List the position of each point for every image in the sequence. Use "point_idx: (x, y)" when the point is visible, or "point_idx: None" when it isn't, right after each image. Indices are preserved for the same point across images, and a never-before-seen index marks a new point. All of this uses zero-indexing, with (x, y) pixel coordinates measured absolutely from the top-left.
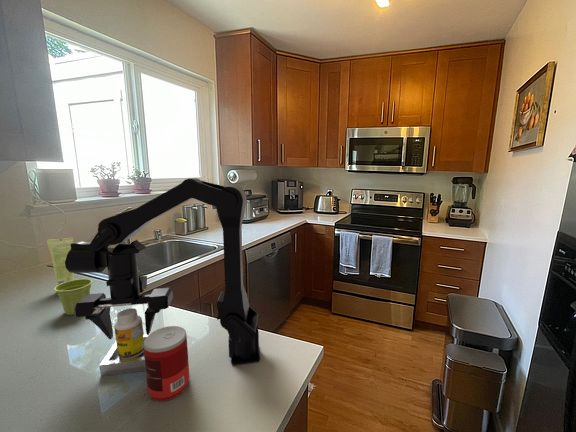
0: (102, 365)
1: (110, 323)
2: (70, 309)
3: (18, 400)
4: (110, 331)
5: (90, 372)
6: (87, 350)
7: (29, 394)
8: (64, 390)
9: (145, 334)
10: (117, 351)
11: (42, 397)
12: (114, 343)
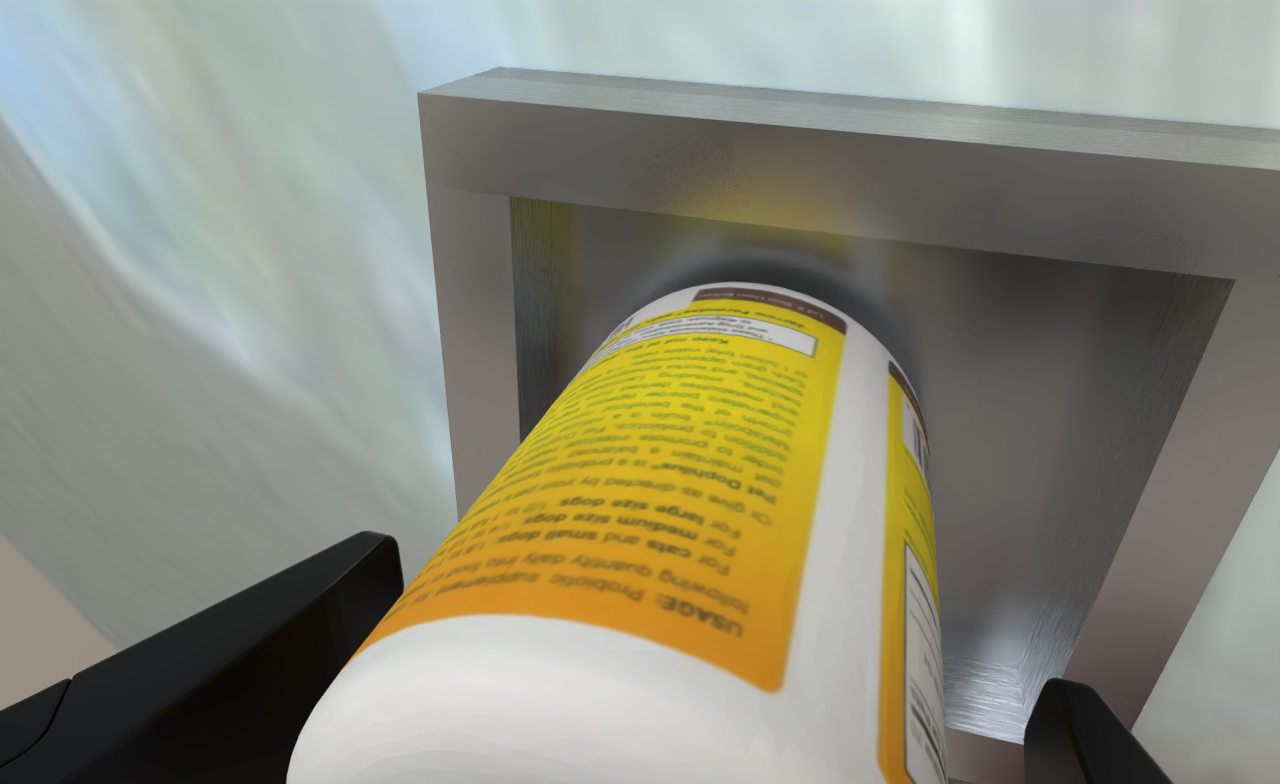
0: None
1: (183, 749)
2: None
3: (103, 587)
4: (317, 692)
5: (401, 482)
6: (111, 35)
7: (121, 559)
8: None
9: (913, 146)
10: (543, 371)
11: None
12: (436, 286)
